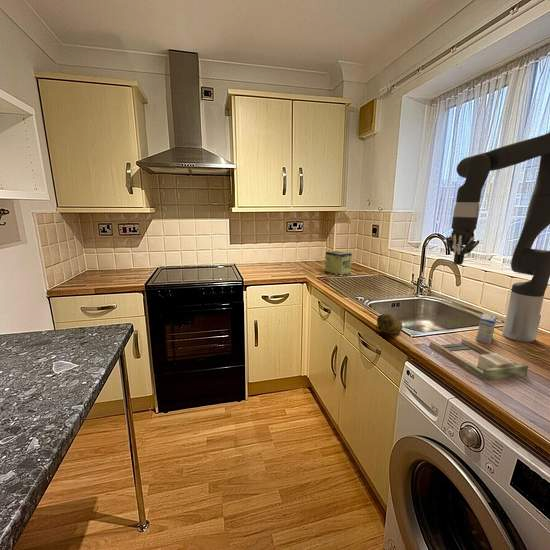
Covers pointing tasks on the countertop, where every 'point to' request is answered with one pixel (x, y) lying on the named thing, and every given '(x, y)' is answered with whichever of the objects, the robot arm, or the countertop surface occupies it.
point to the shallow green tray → (486, 374)
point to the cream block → (493, 361)
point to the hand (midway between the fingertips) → (457, 264)
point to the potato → (389, 324)
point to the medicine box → (486, 328)
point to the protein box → (338, 262)
